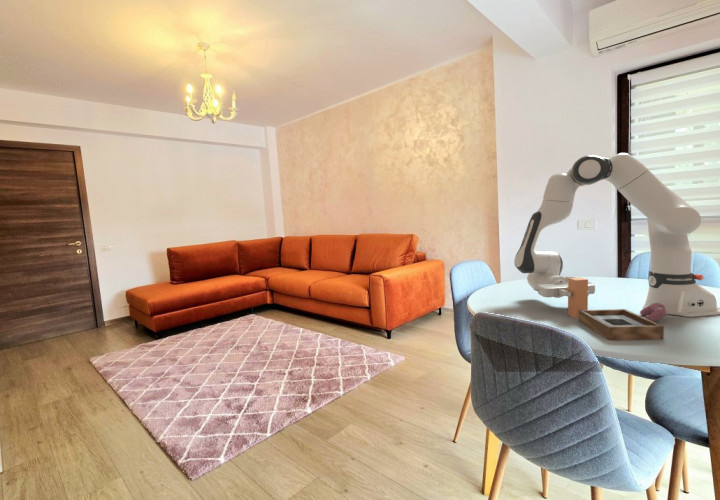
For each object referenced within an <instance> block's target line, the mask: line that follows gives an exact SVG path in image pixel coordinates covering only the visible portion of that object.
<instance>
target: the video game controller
mask: <svg viewBox="0 0 720 500" xmlns="http://www.w3.org/2000/svg"><path fill="white" fill-rule="evenodd" d="M639 313H640V314H639V315H640V316H642V317H643V316H644V318H646V319H648V320H651V321H653V322H655V323H656V322H658V321H660V320H662V319H663V318H666V317H667V315H668V314H666V310H665V306H664V305H662V304H660V303H655V302H654V304H651V305H650V306H648V307H646V308H644V307H643V308H642V309H641V310H640V311H639Z"/></svg>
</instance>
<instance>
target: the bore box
mask: <svg viewBox="0 0 720 500" xmlns="http://www.w3.org/2000/svg"><path fill="white" fill-rule="evenodd" d="M578 322H579V323H581V324H583V326H586V327H587V328H588V329H590V330H592V331H594V332H595V333H597V334H598V335H600V336H601V337H603V338H605V339H607V340H608V341H634V340H635V341H637V340H638V341H640V340H641V341H645V340H649V341H650V340H653V341H654V340H657V341H658V340H664V336H665V335H664V333H665V326H664V325H662V324H659V323H658V322H656V321H655V322H653V321H651V320H648V319H646V318H645V316H644V317H643V316H642V315H640V314H637V313H635V312H633V311H630V310H628V309H625V308H619V309H618V308H615V309H588V310H579V318H578Z"/></svg>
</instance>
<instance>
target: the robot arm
mask: <svg viewBox="0 0 720 500" xmlns="http://www.w3.org/2000/svg"><path fill="white" fill-rule="evenodd" d="M603 180H605V181H607V182H609V183H610V184H612V185H613V186H614V188H615V189H616V190H617V191H618V192H619V193H620V194H621V195H622V196H623V197H624V198H625V199H626V200H627V202H629V203H630V205H632V206H633V207H634V208H636V209H637V210H638V211H639V212H640V213H641V214H643V216H645V217H646V218H647V227H648V237H649V239H648V240H649V246H650V269H649V271H648V286H649V287H648V292H647V295H646V299H645V302H644V305H643V309H644V308H646V307H648V306H650V305H651V304H654V302H655V303H660V304H662V305H664V306H665V310H666V314H667V315H673V316H674V315H675V316H681V317H686V318H693V317H703V316H704V317H706V316H715V315H720V307H719V306H718V305H717V304H718V302H717V298H716V296H715V295H714V293H712V292H710V291H709V290H707V289H706V288H704V287H702V286H701V285H699V284H698V283H697V281H703V280H704V278H705V277H704V275H703V274H700V273H699V274H698V273H696V274H694V273H693V272H691V271H692V249H691V247H690V242H689V236H688V235H690V234H692V233H694V232H695V231H696V230H697V229H698V228H699V227H700V226H701V223H702V216H701V215H700V213H699V212H698V211H697V210H696V209H695V208H694V207H692V205H690V204H689V203H687V201H686V200H685V199H683V198H682V197H681V196H679V195H678V194H677V193H675V192H674V191H672V190H671V189H670V188H668V187H667V186H666V185H665V184H664V183H663V182H662V181H661V180H659V178H658V177H657V176H655V174H653V172H651V170H650V169H648V168H647V166H645V165H644V164H643V163H642V162H641V161H640V160H638V159H637V158H636V157H634V156H632V155H631V154H629V153H627V152H620V153H617V154H615V155H612V156H611V157H609V158H607V157H603V156H599V155H594V154H589V155H584V156H582V157H579V158H578V159H577V160H576V161H575V162H574V163H573V165H572V166H571V168H570V169H569V170H568V171H567V172H560V173H555V174H553V175H551V176H550V177H549V179H548V180H547V184H546V186H545V189H544V192H543V198H542V201H541V202H542V203H541V205H540V207H539V208H538V210H537V211H535V212H534V213H532V215H531V217H530V219H529V222H528V224H527V227H526V230H525V232H524V234H523V238H522V240H521V244H520V246H519V249H518V251H517V252H516V255H515V257H514V266H515V267H516V269H517V270H518V271H519V272H520V273H522V274H527V276H526V281H527V283H528V285H529V286H530V287H531V288H532V289H533V291H535V292H537V294H538V295H540V296H541V297H543V298H555V299H557V298H558V299H559V298H562V297H567V298H568V297H573V296H574V295H573V294H574V293H573V292H571V291H568V278H576V276H563V275H561V274H562V271H563V267H564V261H563V259H562V257H561V255H560V254H559V253H558V252H557V251H554V250H535V247H536V244H537V241H538V239H539V237H540V234H541V231H543V230H544V229H545V228H547V227H550V226H551V225H555V224H558V223H561V222H563V221H565V220H566V219H567V218H568V217H569V216H570V215H571V213H572V210H573V206H574V201H575V200H574V199H575V195H576V192H577V190H578V189H579V187H584V186H590V185H593V184H596V183H598V182H599V181H603ZM594 294H596V286H595V284H594V283H592V282H589V281H588V297H589V296H590V295H594Z"/></svg>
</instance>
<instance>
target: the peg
mask: <svg viewBox="0 0 720 500" xmlns="http://www.w3.org/2000/svg"><path fill="white" fill-rule="evenodd" d="M575 277H576V276H575ZM588 282H589V279H587V278H584V277H580V276H578V277H576V278H568V291H571V292H573V293H574V294H573V295H574V296H573V297H568V296H567V315H568V316H571V317H573V318H575V319H579V310H589V309H588V308H589V307H588V305H589V296H588Z"/></svg>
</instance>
